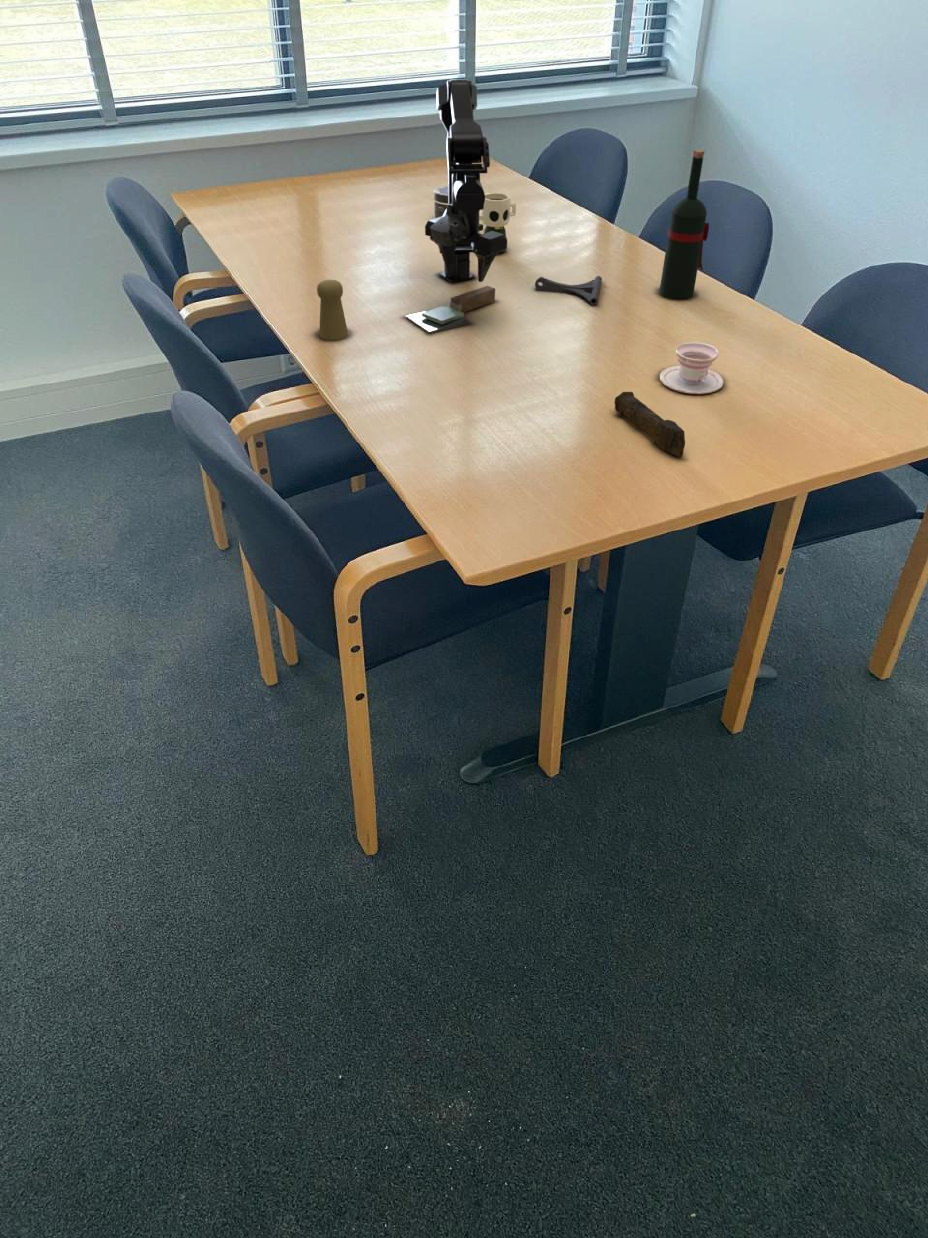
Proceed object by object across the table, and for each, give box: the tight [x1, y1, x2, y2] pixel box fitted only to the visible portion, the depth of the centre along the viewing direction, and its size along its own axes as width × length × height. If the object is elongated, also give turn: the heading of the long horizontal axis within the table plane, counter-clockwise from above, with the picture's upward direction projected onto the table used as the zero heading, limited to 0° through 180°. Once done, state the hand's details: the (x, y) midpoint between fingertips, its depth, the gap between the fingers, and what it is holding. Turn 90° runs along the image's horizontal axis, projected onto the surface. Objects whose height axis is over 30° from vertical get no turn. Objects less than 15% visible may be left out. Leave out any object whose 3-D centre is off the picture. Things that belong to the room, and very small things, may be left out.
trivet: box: [405, 309, 470, 334], centre depth 197 cm, size 10×10×1 cm
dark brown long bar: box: [614, 391, 686, 458], centre depth 158 cm, size 19×4×5 cm, turn 21°
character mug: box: [479, 192, 517, 253], centre depth 228 cm, size 11×7×13 cm, turn 111°
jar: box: [433, 185, 448, 218], centre depth 249 cm, size 10×10×8 cm
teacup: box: [659, 341, 724, 395], centre depth 173 cm, size 12×12×6 cm
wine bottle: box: [658, 149, 710, 301], centre depth 202 cm, size 8×10×30 cm
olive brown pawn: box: [316, 279, 349, 341], centre depth 187 cm, size 6×6×11 cm
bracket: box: [534, 275, 603, 306], centre depth 210 cm, size 14×15×3 cm
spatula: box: [422, 285, 496, 324], centre depth 200 cm, size 19×6×3 cm, turn 137°
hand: (465, 276), depth 196 cm, fingers open, 9 cm apart
